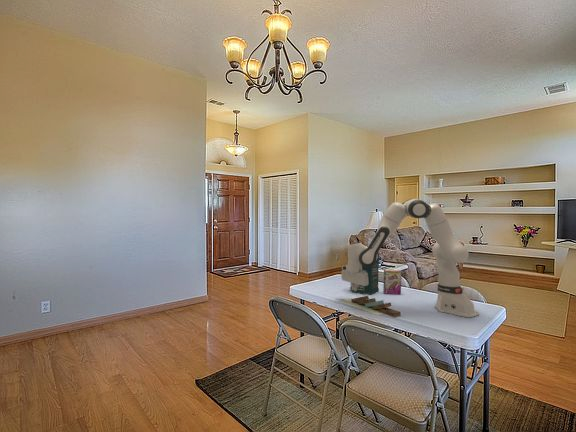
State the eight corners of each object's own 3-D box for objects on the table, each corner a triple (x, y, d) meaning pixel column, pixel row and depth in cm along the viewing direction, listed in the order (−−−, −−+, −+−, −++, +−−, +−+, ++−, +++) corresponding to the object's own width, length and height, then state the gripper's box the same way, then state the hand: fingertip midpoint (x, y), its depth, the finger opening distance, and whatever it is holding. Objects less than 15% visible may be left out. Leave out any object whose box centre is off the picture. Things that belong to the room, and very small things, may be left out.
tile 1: (385, 310, 176) (400, 315, 168) (379, 312, 173) (394, 317, 165) (385, 307, 176) (400, 312, 168) (379, 308, 173) (394, 313, 165)
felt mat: (396, 311, 176) (396, 310, 176) (378, 316, 168) (378, 315, 168) (356, 298, 202) (356, 297, 202) (339, 301, 194) (339, 301, 194)
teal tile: (371, 305, 185) (384, 303, 177) (365, 307, 182) (378, 305, 174) (370, 302, 185) (383, 300, 177) (364, 303, 183) (377, 301, 175)
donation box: (378, 291, 219) (379, 252, 219) (367, 296, 208) (368, 254, 207) (358, 287, 230) (358, 250, 230) (347, 291, 218) (347, 252, 218)
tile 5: (357, 301, 194) (368, 298, 186) (351, 302, 191) (363, 300, 184) (356, 297, 195) (368, 295, 187) (351, 299, 192) (362, 296, 184)
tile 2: (378, 308, 180) (391, 306, 172) (372, 309, 177) (385, 307, 169) (377, 304, 181) (390, 302, 173) (371, 306, 178) (384, 303, 170)
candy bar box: (384, 294, 213) (385, 270, 213) (383, 292, 218) (383, 269, 218) (401, 294, 212) (401, 271, 212) (399, 292, 217) (399, 269, 217)
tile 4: (364, 303, 190) (376, 301, 182) (358, 304, 187) (370, 302, 179) (363, 300, 190) (375, 298, 182) (357, 301, 187) (369, 299, 180)
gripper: (371, 270, 186) (370, 293, 186) (346, 265, 203) (346, 286, 203) (363, 271, 182) (363, 294, 182) (339, 266, 199) (339, 287, 199)
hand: (354, 290), depth 193 cm, fingers closed
